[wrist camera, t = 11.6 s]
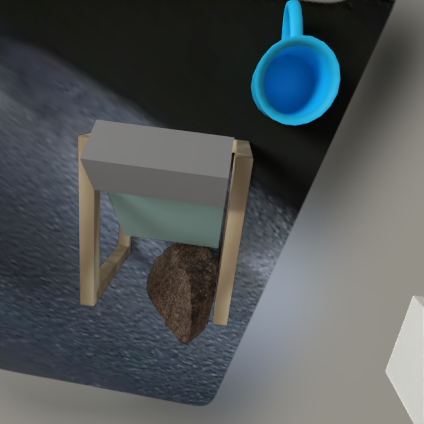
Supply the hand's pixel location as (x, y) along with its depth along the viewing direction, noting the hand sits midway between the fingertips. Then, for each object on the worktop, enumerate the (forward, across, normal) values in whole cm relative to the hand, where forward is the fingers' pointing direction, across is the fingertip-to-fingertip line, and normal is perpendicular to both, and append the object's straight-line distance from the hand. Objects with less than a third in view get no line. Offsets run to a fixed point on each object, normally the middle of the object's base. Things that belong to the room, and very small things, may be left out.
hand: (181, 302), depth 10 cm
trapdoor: (+26, -5, -4) cm, 27 cm away
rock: (+28, -2, -13) cm, 31 cm away
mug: (+35, +6, +10) cm, 37 cm away
